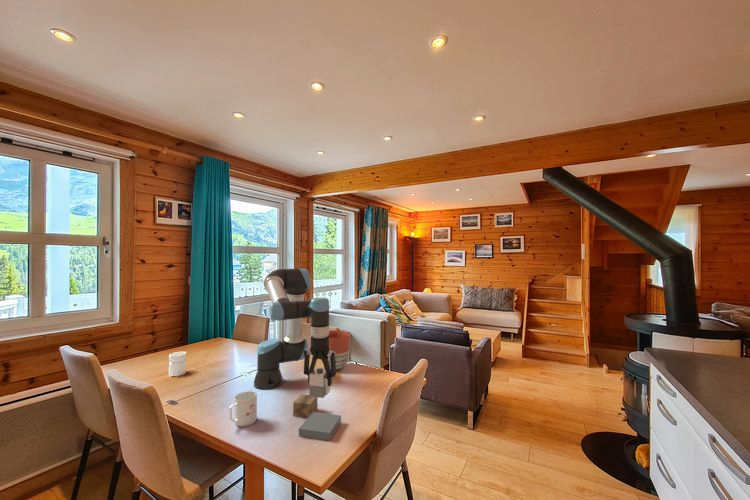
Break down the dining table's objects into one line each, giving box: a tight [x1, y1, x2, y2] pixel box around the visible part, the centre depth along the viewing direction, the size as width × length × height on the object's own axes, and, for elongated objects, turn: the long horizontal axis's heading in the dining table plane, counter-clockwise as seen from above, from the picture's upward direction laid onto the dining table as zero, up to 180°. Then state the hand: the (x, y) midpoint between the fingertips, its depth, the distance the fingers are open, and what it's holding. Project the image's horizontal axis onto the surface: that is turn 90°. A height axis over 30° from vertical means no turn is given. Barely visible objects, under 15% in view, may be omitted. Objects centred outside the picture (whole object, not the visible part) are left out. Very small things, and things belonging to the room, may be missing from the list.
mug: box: [228, 390, 258, 428], centre depth 129 cm, size 12×9×11 cm
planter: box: [321, 329, 351, 371], centre depth 192 cm, size 20×20×21 cm
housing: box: [308, 367, 327, 399], centre depth 125 cm, size 6×7×10 cm
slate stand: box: [298, 411, 342, 441], centre depth 125 cm, size 13×13×3 cm
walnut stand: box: [292, 393, 318, 419], centre depth 138 cm, size 8×8×6 cm
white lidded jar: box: [168, 351, 187, 377], centre depth 183 cm, size 9×9×12 cm
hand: (319, 392), depth 125 cm, fingers closed on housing, 6 cm apart
